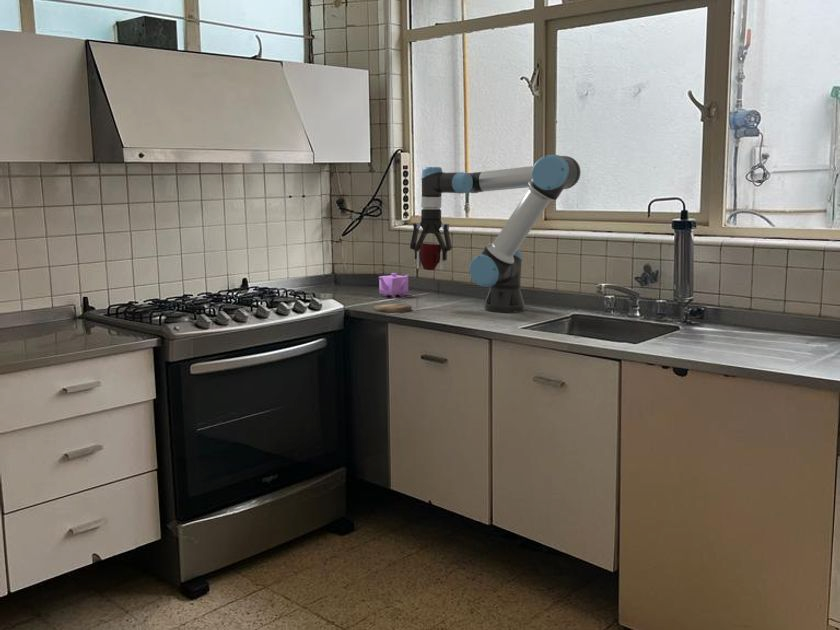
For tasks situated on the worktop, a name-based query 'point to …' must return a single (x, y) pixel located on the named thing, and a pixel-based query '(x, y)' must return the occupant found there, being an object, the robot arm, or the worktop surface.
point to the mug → (430, 255)
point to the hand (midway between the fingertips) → (430, 268)
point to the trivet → (392, 308)
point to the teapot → (393, 285)
